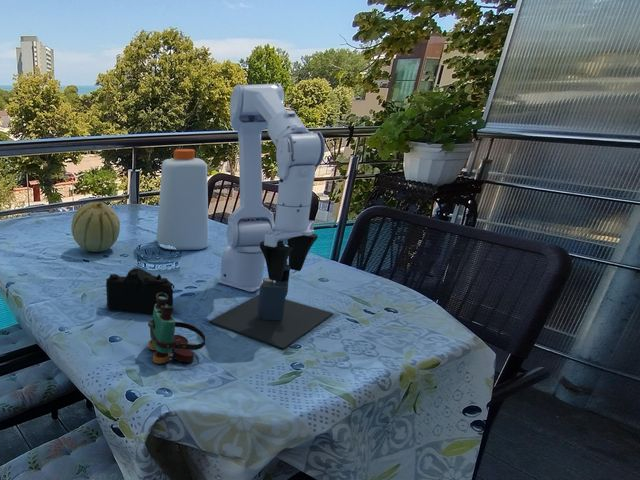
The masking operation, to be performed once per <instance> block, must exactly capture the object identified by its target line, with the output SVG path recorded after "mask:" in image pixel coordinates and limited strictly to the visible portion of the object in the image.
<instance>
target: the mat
mask: <svg viewBox="0 0 640 480" xmlns="http://www.w3.org/2000/svg"><path fill="white" fill-rule="evenodd" d="M258 302H259V294H258V295H256V296H254V297H251V298H250V299H248V300H246V301H244V302H243V303H240V304H239V305H237V306H235V307H233V308H231V309H229V310H227V311H225V312H223V313H221V314H219V315H217V316H215V317H214V318H211V319H210V320H209V324H212V325H215V326H218V327H219V328H222V329H225V330H228V331H231V332H234V333H236V334H239V335H242V336H245V337H247V338H249V339H253V340H255V341H257V342H261V343H264V344H266V345H269V346H271V347H274V348H277V349H280V350H283V351H284V350H285V349H287V348H288V347H290V346H291V345H292V344H294V343H295V342H297V341H298V340H300V339H301V338H302V337H304V336H305V335H306V334H308V333H310V332H311V331H312V330H313V329H315V328H317V327H318V326H320V325H321V324H322V323H323V322H325V321H326V320H328V319H329V318H331V317H332V316H333V315H334V313H333V312H332V311H331V312H330V311H327V310H323V309H320V308H317V307H313V306H310V305H306V304H303V303H300V302H295V301H293V300H289V299H286V298H285V304H284V312H283V320H263V319H260V318H259V317H258V314H257V312H258Z"/></svg>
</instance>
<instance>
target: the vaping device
mask: <svg viewBox="0 0 640 480" xmlns="http://www.w3.org/2000/svg"><path fill="white" fill-rule="evenodd" d="M290 272H291V269H290V265H289V264H288V260H287V261H286V264H285V268H284V273H283V277H282V279H281V281H279V282H278V281H274V280H270V279H269V277H263V283H262V284H261V286H260V289H259V292H258V295H259V302H258V312H257V314H258V317H259V318H260V319H263V320H283V312H284V304H285V299H286V297H287V296H288V293H289V281H290Z"/></svg>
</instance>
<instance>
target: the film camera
mask: <svg viewBox="0 0 640 480" xmlns="http://www.w3.org/2000/svg"><path fill="white" fill-rule="evenodd" d="M105 281H106V282H105V289H106V290H105V291H106V292H105V293H106V306H107V307H106V308H107V309H108V310H109V311H117V312H125V313H135V314H143V315H153V311H154V306H155V304H157V300H156V295H157V294H158V293H161V292H162V293H166V294H167V295H168V297H169V298H168V301H167V302H166V304H167V305H168V306H173V307H174V289H175V285H174V284H173V283H172V282H171V281H170V280H169V279H168V278H166V277H162V276H161V274H157V276H156V275H154V274H151V273H150V272H148V271H146V270H144V269H142V268H137V267H133V268H132V269H130V270H129V271H128V272H127V273H126V275H125V276H123V275H122V276H121V275H119V274H117V273H111V274H110V275H109V277H108V278H106V280H105Z"/></svg>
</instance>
